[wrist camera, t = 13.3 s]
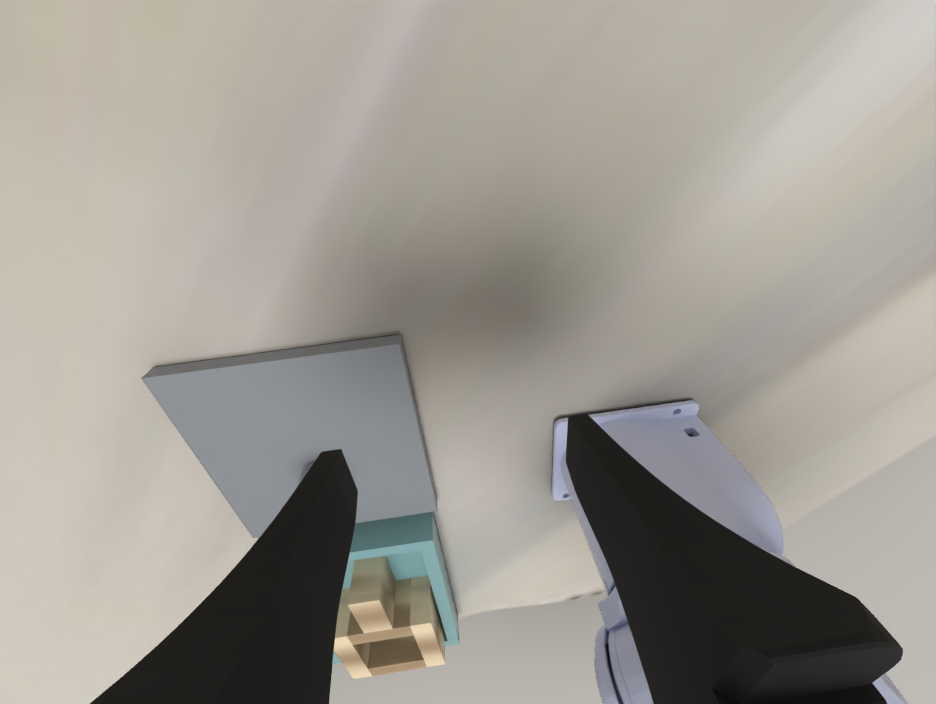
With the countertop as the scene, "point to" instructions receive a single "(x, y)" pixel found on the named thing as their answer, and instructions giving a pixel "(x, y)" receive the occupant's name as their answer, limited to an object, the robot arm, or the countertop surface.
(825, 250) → the countertop surface
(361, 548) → the tray
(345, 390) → the board
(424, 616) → the maple collar
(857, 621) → the robot arm
